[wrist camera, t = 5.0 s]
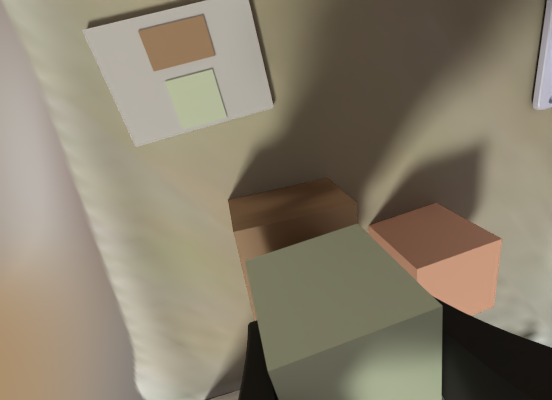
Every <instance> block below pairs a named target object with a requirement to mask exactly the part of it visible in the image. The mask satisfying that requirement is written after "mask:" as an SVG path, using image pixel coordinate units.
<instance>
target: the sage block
mask: <svg viewBox="0 0 552 400" xmlns="http://www.w3.org/2000/svg"><path fill="white" fill-rule="evenodd" d="M245 263H246V268H247V273H248V278H249V282H250V287H251V292H252V297H253V302H254V307H255V312H256V317H257V322H258V326H259V331H260V336H261V341H262V346H263V351H264V356H265V361H266V366H267V370H268V374H269V376H270V379H271V381H272V384H273V386H274V389H275V392H276V394H277V397H278V399H279V400H441V397H442V313H443V306H442V305H441V304H440V303H439V302H438V301H437V300H436V299H435V298H434V297H433V296H432V295H431V294H430V293H429V292H428V291H427V290H425V289H424V288H423V287H422V286H421V285H420V284H419V283H418V282H417V281H416V280H415V279H414V278H413V277H412V276H411V275H410V274H409V273H408V272H407V271H406V270H405V269H404V268H403V267H402V266H401V265H400V264H399V263H398V262H397V261H395V260H394V259H393V258H392V257H391V256H390V255H389V254H388V253H387V252H386V251H385V250H384V249H383V248H382V247H381V246H380V245H379V244H378V243H377V242H376V241H375V240H374V239H373V238H372V237H371V236H370V235H369V234H368V233H367V232H366V231H364V230H363V229H362V228H361V227H360V226H359V225H358V224H354V225H351V226H348V227H345V228H342V229H339V230H336V231H333V232H330V233H327V234H324V235H321V236H318V237H315V238H312V239H309V240H306V241H303V242H300V243H297V244H294V245H291V246H288V247H285V248H282V249H279V250H276V251H273V252H270V253H267V254H264V255H261V256H258V257H255V258H252V259H249V260H246V261H245Z"/></svg>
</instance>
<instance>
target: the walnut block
mask: <svg viewBox="0 0 552 400" xmlns="http://www.w3.org/2000/svg"><path fill="white" fill-rule="evenodd" d="M228 202H229V208H230V214H231V220H232V226H233V232H234V236H235V240H236V245H237V249H238V253H239V257H240V262H241V266H242V270H243V274H244V278H245V283H246V287H247V291H248V295H249V299H250V304H251V308H252V312H253V316H254V320H255V321H256V320H257V317H256V312H255V307H254V302H253V297H252V292H251V287H250V282H249V278H248V273H247V268H246V263H245V261H246V260H249V259H252V258H255V257H258V256H261V255H264V254H267V253H270V252H273V251H276V250H279V249H282V248H285V247H288V246H291V245H294V244H297V243H300V242H303V241H306V240H309V239H312V238H315V237H318V236H321V235H324V234H327V233H330V232H333V231H336V230H339V229H342V228H345V227H348V226H351V225H354V224H358V205H357V202H356V201H354V200H353V199H352V198H351V197H350V196H348V195H347V194H346V193H345V192H344V191H342V190H341V189H340V188H339V187H338V186H336V185H335V184H334V183H333V182H332V181H331V180H329V179H328V178H326V179H321V180H317V181H312V182H307V183H303V184H298V185H294V186H289V187H285V188H280V189H276V190H271V191H266V192H262V193H257V194H253V195H248V196H244V197H239V198H234V199H230V200H228Z"/></svg>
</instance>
